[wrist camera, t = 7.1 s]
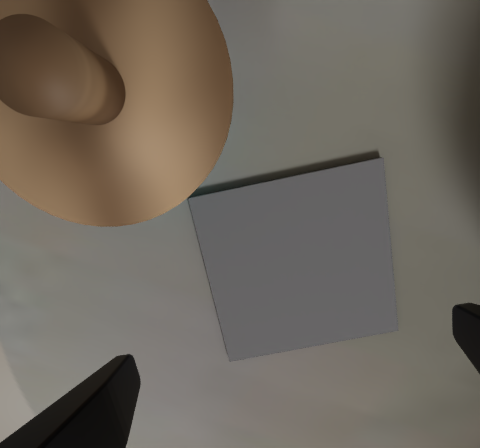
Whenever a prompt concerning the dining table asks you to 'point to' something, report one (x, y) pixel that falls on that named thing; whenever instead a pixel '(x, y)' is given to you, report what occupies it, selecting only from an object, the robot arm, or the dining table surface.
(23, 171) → the lid
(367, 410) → the dining table surface
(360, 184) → the mat
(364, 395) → the dining table surface
